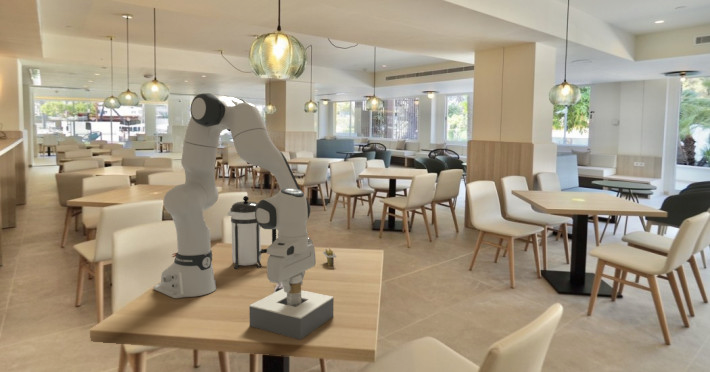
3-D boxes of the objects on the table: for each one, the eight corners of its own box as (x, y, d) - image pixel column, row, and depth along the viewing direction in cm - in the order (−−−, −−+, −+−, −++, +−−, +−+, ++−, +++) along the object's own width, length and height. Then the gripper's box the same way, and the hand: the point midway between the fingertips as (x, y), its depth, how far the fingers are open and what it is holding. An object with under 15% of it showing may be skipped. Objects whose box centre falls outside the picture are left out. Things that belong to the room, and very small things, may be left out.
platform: (320, 271, 186) (320, 256, 185) (311, 260, 203) (311, 246, 202) (348, 269, 189) (348, 254, 189) (336, 258, 206) (336, 244, 206)
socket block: (249, 326, 132) (249, 305, 131) (286, 305, 148) (286, 287, 147) (300, 339, 123) (300, 317, 123) (333, 316, 139) (333, 296, 139)
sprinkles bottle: (301, 314, 138) (301, 272, 136) (301, 321, 133) (301, 277, 132) (286, 315, 137) (286, 272, 136) (285, 321, 133) (285, 277, 131)
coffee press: (248, 273, 181) (247, 199, 178) (221, 266, 190) (219, 196, 186) (277, 262, 196) (276, 195, 192) (250, 257, 204) (249, 192, 201)
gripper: (303, 235, 143) (303, 277, 145) (262, 249, 125) (263, 297, 127) (320, 237, 141) (320, 280, 142) (281, 252, 122) (281, 301, 124)
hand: (293, 288), depth 134 cm, fingers closed on sprinkles bottle, 4 cm apart
